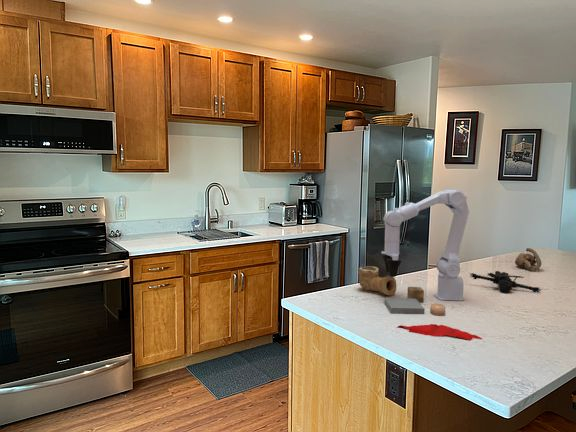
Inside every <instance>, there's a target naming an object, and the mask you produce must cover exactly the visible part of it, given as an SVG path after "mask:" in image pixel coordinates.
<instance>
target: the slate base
mask: <svg viewBox="0 0 576 432" xmlns="http://www.w3.org/2000/svg"><path fill="white" fill-rule="evenodd" d="M383 302H384V305H385V306H386V308H387V310H388V311H389V312H390V314H403V315H406V314H408V315H409V314H410V315H411V314H413V315H425V309H426V308H425V307H424V306H423V305H422V303H419V302H418V301H417V300H416V299H407V298H405V297H403V298H400V297H399V298H398V297H397V298H396V297H395V298H393V297H385V298H384V301H383Z"/></svg>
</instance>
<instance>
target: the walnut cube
mask: <svg viewBox="0 0 576 432" xmlns="http://www.w3.org/2000/svg"><path fill="white" fill-rule="evenodd" d="M424 298H425V290H424V288H422V287H421V286H407V299H416V300H417V301H418V302H419V303H420V304H423V303H424Z"/></svg>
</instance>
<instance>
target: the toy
mask: <svg viewBox="0 0 576 432" xmlns="http://www.w3.org/2000/svg"><path fill="white" fill-rule="evenodd" d="M469 277H471V278H472V280H478V279H480V280H481V279H482V280H486V281H489V282H492V283H493V284H496V285H498V289H499V292H500V293H503V294H504V293H510V291H512V289H513V288H514V289H515V288H521V289H524V290H530V291H531V292H533V293H534V294H536V292H537V293H541V292H542V288H540V287H537V286H536V287H535V286H530V285H526V284H522V283H521V284H520V283H517V282H516V280H517V278H523V279H525V277H524V276H521V275H509V273H507V272H505V271H502V272H501V271H499V270H495V271H494V273H492V272H489V273H487V276H484V275H480V274H476V273H474V272H471V273H470V274H469ZM511 278H514V279H513V280H512V279H511Z"/></svg>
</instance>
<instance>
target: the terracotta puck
mask: <svg viewBox="0 0 576 432" xmlns="http://www.w3.org/2000/svg"><path fill="white" fill-rule="evenodd" d="M429 309H430V310H429V311H430V312H429V314H431V315H433V316H437V317H438V316H439V317H442V316H445V315H446V305H444V304H441V303H430V308H429Z"/></svg>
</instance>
